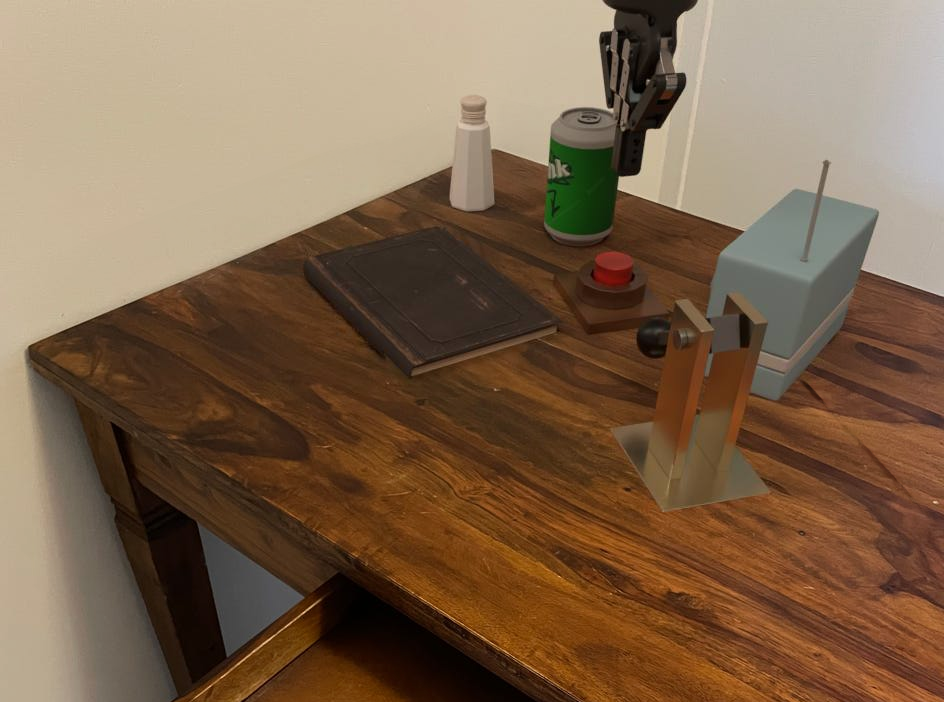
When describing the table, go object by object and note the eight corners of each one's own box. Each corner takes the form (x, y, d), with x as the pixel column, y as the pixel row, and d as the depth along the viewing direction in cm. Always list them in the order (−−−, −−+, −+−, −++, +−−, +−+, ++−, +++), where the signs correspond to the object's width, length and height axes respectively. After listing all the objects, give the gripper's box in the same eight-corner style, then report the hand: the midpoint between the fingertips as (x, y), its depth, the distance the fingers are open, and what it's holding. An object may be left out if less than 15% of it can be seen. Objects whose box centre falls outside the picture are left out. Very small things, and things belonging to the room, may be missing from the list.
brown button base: (552, 294, 95) (555, 255, 92) (626, 285, 97) (631, 246, 94) (586, 345, 89) (591, 305, 86) (665, 334, 90) (672, 294, 87)
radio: (752, 307, 94) (807, 84, 79) (840, 335, 90) (915, 107, 76) (679, 379, 85) (727, 142, 70) (774, 412, 81) (844, 171, 67)
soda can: (615, 224, 106) (630, 107, 97) (606, 254, 101) (621, 134, 92) (549, 217, 107) (557, 101, 98) (537, 246, 102) (545, 127, 93)
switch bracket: (607, 439, 79) (630, 281, 68) (707, 424, 80) (744, 267, 70) (660, 523, 71) (694, 360, 61) (768, 504, 73) (819, 342, 63)
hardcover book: (440, 245, 102) (440, 224, 100) (560, 343, 89) (562, 320, 87) (304, 280, 97) (301, 258, 95) (409, 389, 83) (409, 366, 82)
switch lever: (631, 361, 78) (628, 320, 77) (667, 356, 79) (665, 315, 78) (705, 360, 66) (703, 312, 65) (747, 354, 66) (745, 306, 65)
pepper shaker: (504, 206, 109) (508, 101, 101) (463, 216, 107) (464, 110, 99) (480, 189, 112) (482, 86, 104) (440, 198, 110) (439, 94, 102)
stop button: (587, 271, 91) (589, 253, 89) (622, 267, 91) (625, 249, 90) (601, 289, 88) (603, 271, 87) (636, 284, 89) (639, 266, 88)
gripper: (579, -88, 74) (559, 148, 86) (646, -47, 65) (612, 208, 78) (668, -92, 75) (636, 141, 88) (745, -52, 66) (696, 199, 79)
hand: (625, 172), depth 83 cm, fingers closed
